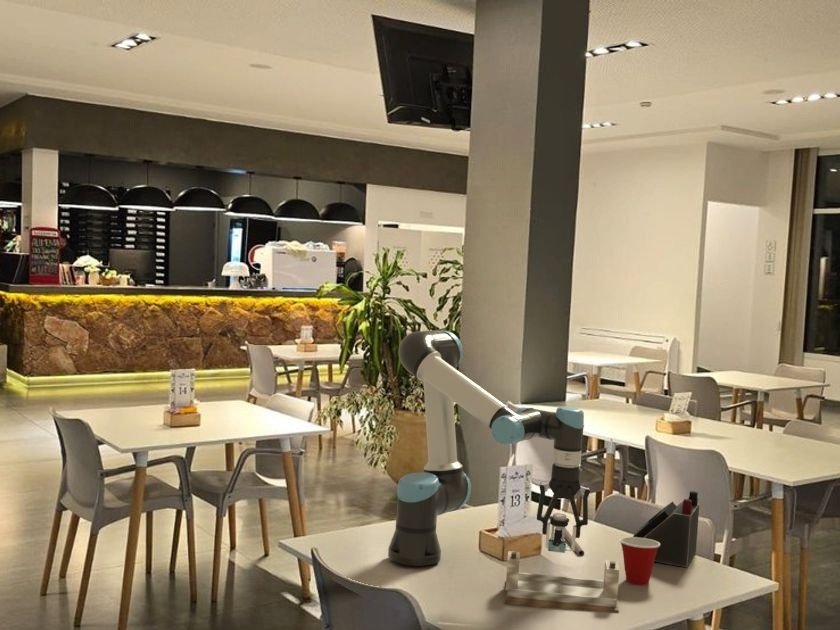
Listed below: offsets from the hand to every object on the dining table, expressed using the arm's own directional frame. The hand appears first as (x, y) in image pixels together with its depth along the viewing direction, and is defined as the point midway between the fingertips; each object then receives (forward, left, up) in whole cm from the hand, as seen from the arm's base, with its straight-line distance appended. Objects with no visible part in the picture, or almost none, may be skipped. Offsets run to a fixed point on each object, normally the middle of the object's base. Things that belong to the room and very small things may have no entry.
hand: (559, 547), depth 245 cm
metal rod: (+4, +35, -9) cm, 36 cm away
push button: (0, 0, -1) cm, 1 cm away
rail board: (0, -14, -8) cm, 17 cm away
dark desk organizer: (+31, +26, -9) cm, 42 cm away
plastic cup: (+21, +2, -9) cm, 23 cm away
